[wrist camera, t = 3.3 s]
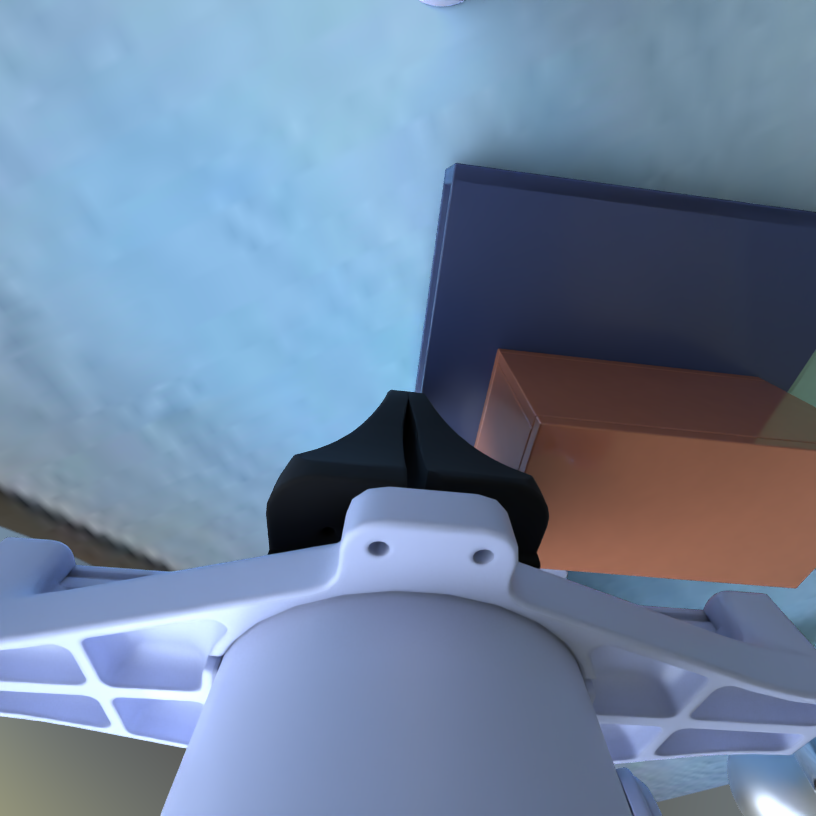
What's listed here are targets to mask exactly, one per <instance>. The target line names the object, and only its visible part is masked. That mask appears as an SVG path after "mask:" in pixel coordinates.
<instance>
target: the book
mask: <svg viewBox="0 0 816 816" xmlns="http://www.w3.org/2000/svg"><path fill="white" fill-rule="evenodd" d="M498 349H508V350H517V351H526V352H535V353H545V354H554V355H563V356H572V357H581V358H590V359H599V360H608V361H617V362H627V363H636V364H645V365H654V366H663V367H672V368H681V369H690V370H700V371H709V372H718V373H727V374H736V375H745V376H754V377H759V378H761V379H763V380H765V381H767V382H769V383H771V384H773V385H774V386H776V387H778V388H780V389H782V390H784V391H786V392H788V391H789V389H790V388H791V386H792V385H793V383H794V382H795V380H796V379H797V377H798V376H799V374H800V373H801V371H802V370H803V368H804V367H805V365H806V364H807V362H808V361H809V359H810V358H811V356H812V355H813V353H814V352H815V350H816V212H812V211H804V210H797V209H790V208H782V207H775V206H767V205H760V204H753V203H745V202H738V201H731V200H723V199H716V198H709V197H701V196H694V195H687V194H679V193H672V192H665V191H657V190H650V189H643V188H635V187H628V186H621V185H613V184H606V183H598V182H591V181H584V180H576V179H569V178H562V177H554V176H547V175H540V174H532V173H525V172H518V171H510V170H503V169H496V168H488V167H481V166H474V165H466V164H459V163H455V164H454V165H453V166H451V167H449V168H448V169H446V170H445V178H444V185H443V192H442V199H441V207H440V214H439V221H438V228H437V236H436V243H435V250H434V257H433V265H432V272H431V279H430V286H429V294H428V301H427V308H426V315H425V323H424V330H423V337H422V344H421V352H420V359H419V366H418V374H417V381H416V388H415V392H417V393H424V394H425V395H426V396H427V398H428V399H429V401H430V402H431V404H432V405H433V407H434V408H435V409H436V411H437V412H438V413H439V415H440V416H441V417H442V418H443V419H444V421H445V422H446V423H447V424H448V425H449V426H450V427H451V428H452V429H453V430H454V431H455V432H456V433H457V434H458V435H459V436H461V437H462V438H463V439H464V440H465V441H467V442H468V443H469V444H470V445H472V446H473V447H474V445H475V441H476V437H477V433H478V428H479V424H480V420H481V416H482V412H483V408H484V403H485V399H486V395H487V391H488V387H489V383H490V379H491V374H492V370H493V366H494V362H495V358H496V354H497V350H498Z"/></svg>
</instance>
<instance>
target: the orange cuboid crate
mask: <svg viewBox="0 0 816 816" xmlns="http://www.w3.org/2000/svg"><path fill="white" fill-rule="evenodd" d="M474 447H475V448H476V449H478V450H479V451H481V452H482V453H484V454H485V455H487V456H489V457H491V458H492V459H494V460H496V461H498V462H500V463H502V464H504V465H506V466H508V467H511V468H513V469H516V470H518V471H521V472H524V473H526V474H529V475H531V476H533V478H534V480H535V481H536V483H537V485H538V487H539V488H540V490H541V493H542V495H543V497H544V499H545V501H546V504H547V506H548V511H549V521H548V526H547V529H546V531H545V534H544V536H543V539H542V541H541V544H540V546H539V549H538V551H537V554H538V557H539V560H540V563H541V567H540V569H552V570H565V571H577V572H590V573H603V574H616V575H629V576H642V577H655V578H667V579H680V580H693V581H706V582H719V583H732V584H745V585H757V586H770V587H783V588H797V587H798V586H799V585H800V584H801V583H802V582H803V581H804V580H805V579H806V578H807V576H808V575H809V574H810V573H811V572H812V571H813V570H814V569H815V568H816V407H814V406H812V405H810V404H809V403H807V402H805V401H803V400H801V399H799V398H797V397H795V396H793V395H791V394H790V393H788V392H786V391H784V390H782V389H780V388H778V387H776V386H774V385H773V384H771V383H769V382H767V381H765V380H763V379H761V378H759V377H754V376H745V375H736V374H727V373H718V372H709V371H700V370H690V369H681V368H672V367H663V366H654V365H645V364H636V363H627V362H617V361H608V360H599V359H590V358H581V357H572V356H563V355H554V354H545V353H535V352H526V351H517V350H508V349H498V350H497V354H496V358H495V362H494V366H493V370H492V374H491V379H490V383H489V387H488V391H487V395H486V399H485V403H484V408H483V412H482V416H481V420H480V424H479V428H478V433H477V437H476V441H475V445H474Z"/></svg>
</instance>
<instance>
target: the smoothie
mask: <svg viewBox="0 0 816 816" xmlns="http://www.w3.org/2000/svg"><path fill="white" fill-rule="evenodd" d="M420 1H421V2H423V3H426V4H428V5H432V6H438V7H447V6H452V5H456V4H459V3H461V2H463V1H465V0H420Z"/></svg>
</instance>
